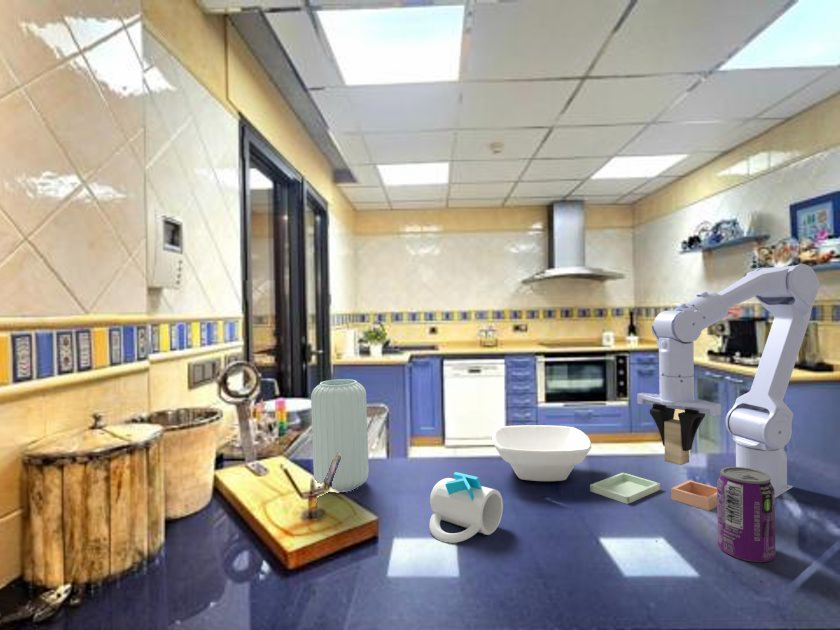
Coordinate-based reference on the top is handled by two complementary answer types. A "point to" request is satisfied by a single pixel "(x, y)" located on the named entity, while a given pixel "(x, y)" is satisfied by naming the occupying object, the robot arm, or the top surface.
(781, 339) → the robot arm
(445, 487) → the mug
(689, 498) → the orange open box
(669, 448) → the beech pin
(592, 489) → the tray
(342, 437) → the vase
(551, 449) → the bowl
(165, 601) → the top surface
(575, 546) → the top surface
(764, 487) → the beverage can
